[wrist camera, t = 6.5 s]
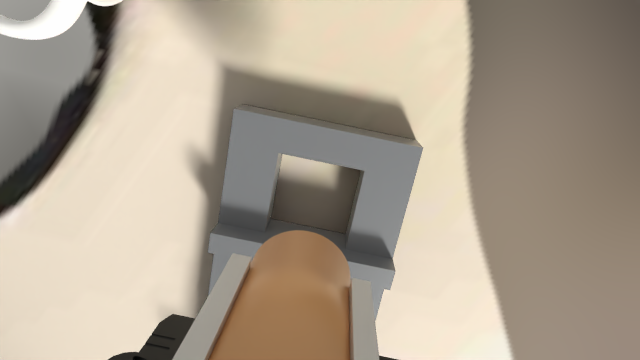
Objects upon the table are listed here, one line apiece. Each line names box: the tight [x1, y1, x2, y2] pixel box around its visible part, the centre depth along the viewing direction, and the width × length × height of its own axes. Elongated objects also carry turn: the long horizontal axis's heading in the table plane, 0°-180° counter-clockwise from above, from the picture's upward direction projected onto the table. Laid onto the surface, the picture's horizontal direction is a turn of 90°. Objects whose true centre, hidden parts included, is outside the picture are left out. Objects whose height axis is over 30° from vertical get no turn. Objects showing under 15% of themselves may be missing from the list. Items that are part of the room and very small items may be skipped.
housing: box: [208, 104, 423, 320], centre depth 29 cm, size 12×17×4 cm
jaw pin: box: [209, 230, 351, 360], centre depth 15 cm, size 4×4×8 cm
